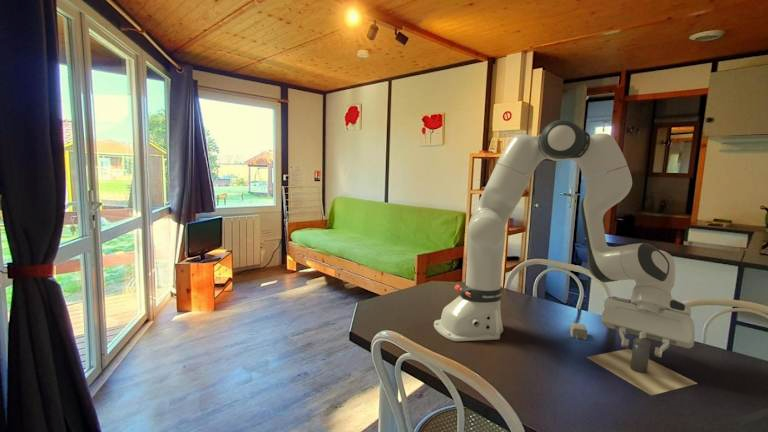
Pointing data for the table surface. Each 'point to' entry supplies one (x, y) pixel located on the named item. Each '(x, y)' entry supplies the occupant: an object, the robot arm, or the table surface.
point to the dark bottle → (640, 353)
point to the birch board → (649, 382)
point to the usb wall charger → (578, 331)
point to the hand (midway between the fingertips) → (640, 350)
